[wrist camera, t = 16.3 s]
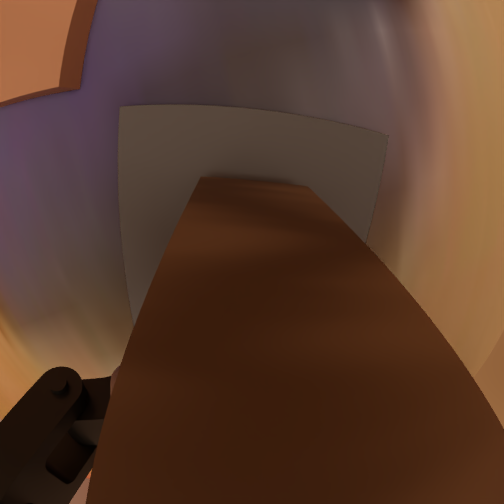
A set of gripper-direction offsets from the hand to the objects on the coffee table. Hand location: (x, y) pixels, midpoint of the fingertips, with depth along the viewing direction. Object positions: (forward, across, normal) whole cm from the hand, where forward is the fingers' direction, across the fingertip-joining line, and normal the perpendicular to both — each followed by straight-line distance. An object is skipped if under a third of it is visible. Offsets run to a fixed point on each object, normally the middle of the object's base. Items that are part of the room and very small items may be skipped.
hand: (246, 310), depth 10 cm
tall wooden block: (+2, 0, 0) cm, 2 cm away
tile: (+4, +13, -8) cm, 16 cm away
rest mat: (+4, 0, 0) cm, 4 cm away
